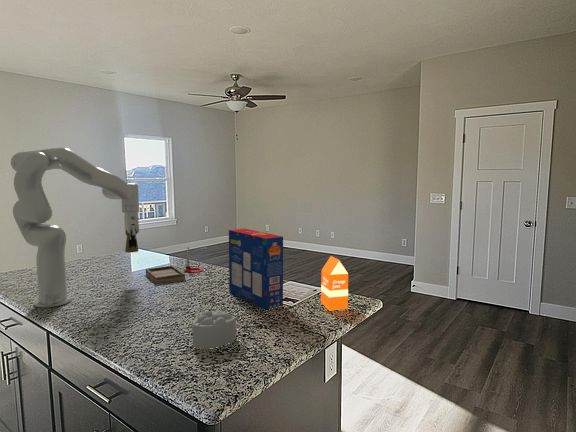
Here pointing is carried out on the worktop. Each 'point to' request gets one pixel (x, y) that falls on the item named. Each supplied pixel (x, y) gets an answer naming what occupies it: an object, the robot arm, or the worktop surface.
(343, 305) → the orange juice
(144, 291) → the worktop surface
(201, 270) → the tow hook
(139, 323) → the worktop surface
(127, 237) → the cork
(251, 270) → the pasta box
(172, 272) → the walnut tray
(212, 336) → the lumpy-topped squat cylinder
